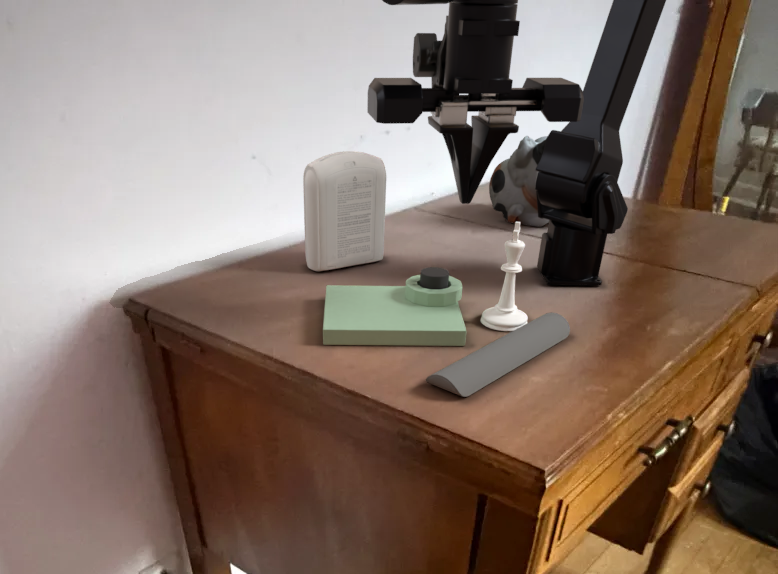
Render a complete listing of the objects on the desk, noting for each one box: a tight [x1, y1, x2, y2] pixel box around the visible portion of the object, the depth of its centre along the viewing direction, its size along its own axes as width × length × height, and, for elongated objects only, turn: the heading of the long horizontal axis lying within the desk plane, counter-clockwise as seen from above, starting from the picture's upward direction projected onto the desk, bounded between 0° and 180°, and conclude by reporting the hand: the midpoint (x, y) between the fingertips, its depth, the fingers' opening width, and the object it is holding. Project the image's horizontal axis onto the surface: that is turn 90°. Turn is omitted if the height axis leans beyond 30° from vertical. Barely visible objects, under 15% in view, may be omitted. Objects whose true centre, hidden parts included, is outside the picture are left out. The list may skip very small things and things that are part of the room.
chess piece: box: [480, 222, 529, 332], centre depth 73 cm, size 5×5×10 cm
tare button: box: [419, 266, 450, 289], centre depth 76 cm, size 3×3×2 cm
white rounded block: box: [302, 150, 387, 272], centre depth 85 cm, size 10×4×12 cm, turn 123°
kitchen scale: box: [322, 274, 467, 347], centre depth 74 cm, size 14×12×3 cm
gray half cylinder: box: [425, 311, 571, 398], centre depth 68 cm, size 4×20×2 cm, turn 139°
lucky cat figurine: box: [488, 135, 549, 228], centre depth 102 cm, size 15×12×14 cm
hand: (464, 202), depth 70 cm, fingers closed
